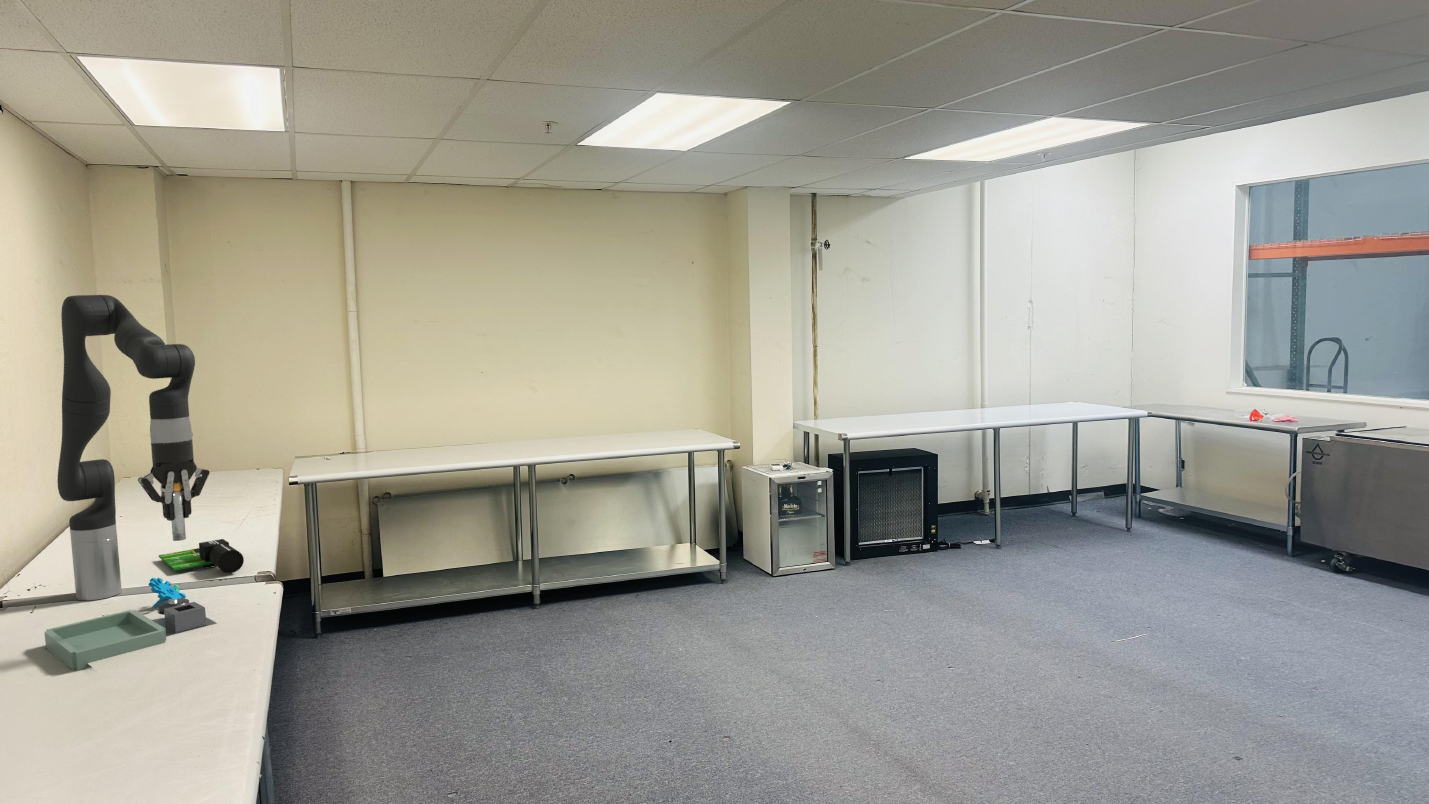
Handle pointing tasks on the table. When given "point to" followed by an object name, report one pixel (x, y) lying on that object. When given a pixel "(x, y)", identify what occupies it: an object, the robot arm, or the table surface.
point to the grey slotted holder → (182, 616)
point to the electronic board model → (206, 557)
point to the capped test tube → (178, 513)
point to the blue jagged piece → (165, 590)
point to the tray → (103, 638)
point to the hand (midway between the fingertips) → (177, 518)
